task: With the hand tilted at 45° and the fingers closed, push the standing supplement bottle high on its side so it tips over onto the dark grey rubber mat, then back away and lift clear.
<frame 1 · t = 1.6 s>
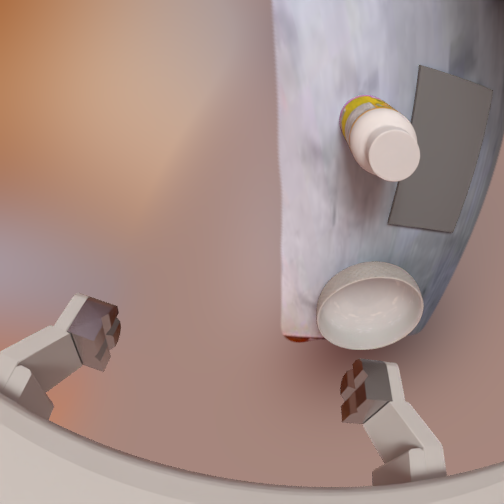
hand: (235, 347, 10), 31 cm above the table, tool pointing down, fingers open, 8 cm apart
supplement bottle: (365, 119, 33), on the table
cereal bowl: (365, 285, 49), on the table
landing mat: (442, 155, 34), on the table
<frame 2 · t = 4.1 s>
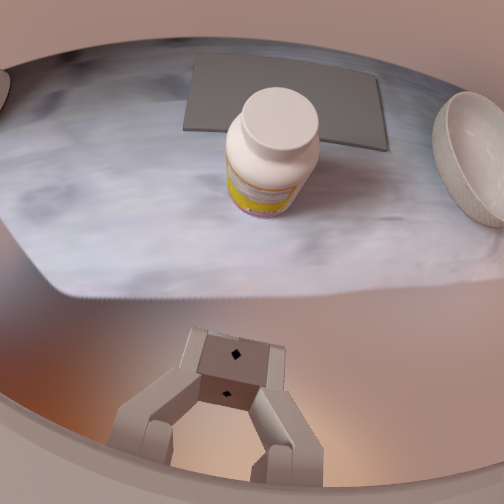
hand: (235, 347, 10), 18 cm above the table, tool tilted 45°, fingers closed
supplement bottle: (261, 187, 30), on the table
cereal bowl: (464, 173, 33), on the table
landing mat: (289, 96, 32), on the table
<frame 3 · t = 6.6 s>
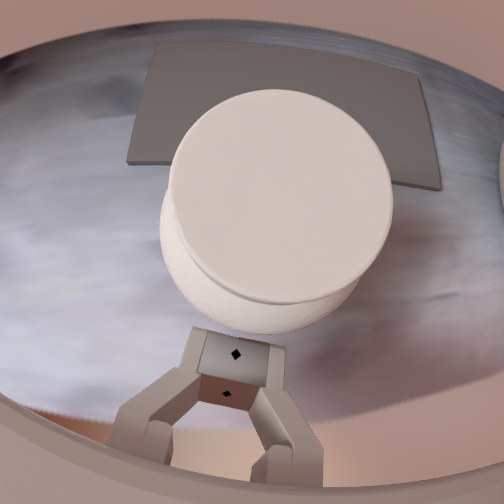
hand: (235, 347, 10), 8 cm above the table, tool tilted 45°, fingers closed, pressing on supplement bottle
supplement bottle: (250, 260, 19), on the table, touching gripper
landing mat: (296, 103, 20), on the table
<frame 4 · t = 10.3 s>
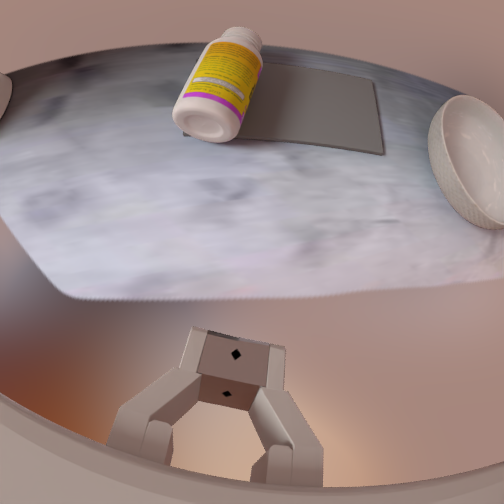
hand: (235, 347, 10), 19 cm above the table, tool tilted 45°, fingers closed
supplement bottle: (201, 129, 27), point 4 cm above the table, touching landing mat
cereal bowl: (460, 175, 34), on the table
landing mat: (287, 101, 33), on the table
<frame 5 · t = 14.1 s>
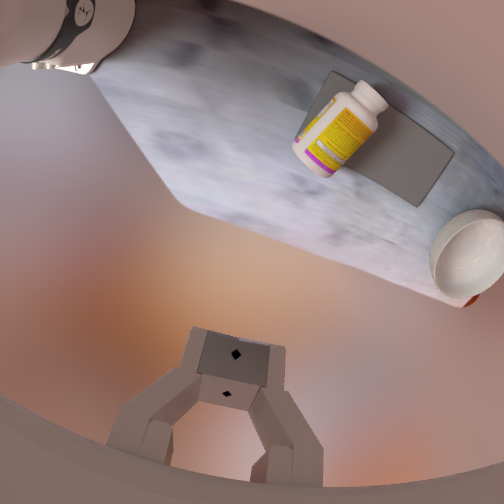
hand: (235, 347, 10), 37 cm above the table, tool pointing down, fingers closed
supplement bottle: (308, 163, 39), point 4 cm above the table, touching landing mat
cereal bowl: (460, 238, 47), on the table
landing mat: (380, 142, 40), on the table
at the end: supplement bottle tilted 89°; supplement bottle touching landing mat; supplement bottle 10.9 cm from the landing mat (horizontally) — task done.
